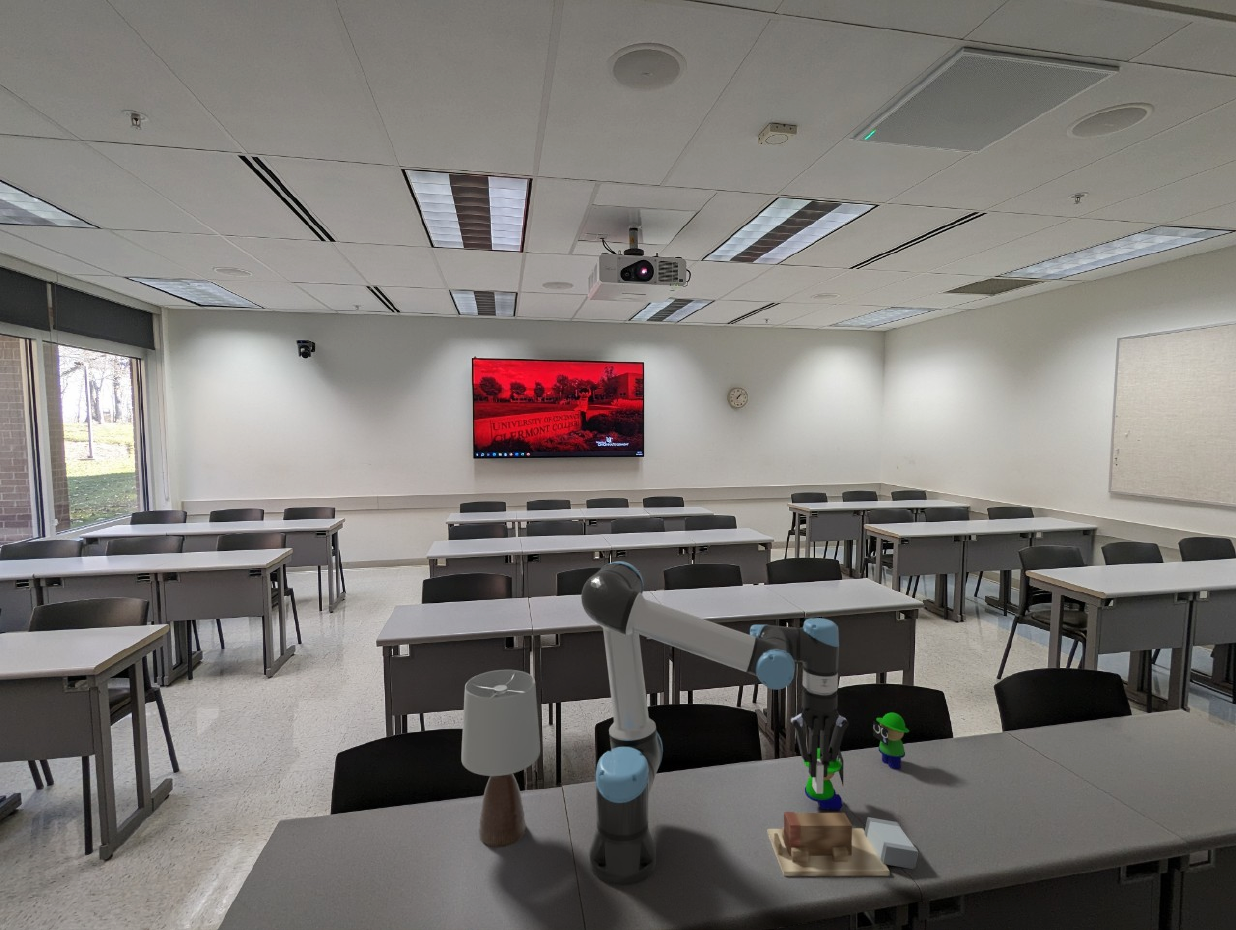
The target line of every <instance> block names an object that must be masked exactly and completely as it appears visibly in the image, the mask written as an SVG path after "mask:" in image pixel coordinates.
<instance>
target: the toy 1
mask: <svg viewBox="0 0 1236 930" xmlns="http://www.w3.org/2000/svg"><path fill="white" fill-rule="evenodd" d="M817 759H820V747H817ZM802 760H803V761H802V762H803V763H804V765H805V766H806V767H807V768H808V769H809V762H805V761H804V759H802ZM829 764H830V765H829V766H828V772H827V777H823V794H816V792H815V790H814V788H813V787H812V784H813V777H811V776H810V775H809V777H808V779H807V781H806V784H805V787H804V794H805V796H806V797H807V798H809V799H810V800H812V801H814V802H817V803H818V805H819V807H820V809H822V810H831V811H832V810H833V811H841V810H842V808H843V800H842V797H841V795H840V794H839V793H836V789H835V788H834V786H833V783H832V781H831V779H832V778H833V777H834V775H835V773H838V774H839V777H840V780H841V785H842V786H844V758H843V755H842V752H841V749H839V753H838V756H837V760H836V761H835V762H829Z"/></svg>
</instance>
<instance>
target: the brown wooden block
mask: <svg viewBox="0 0 1236 930" xmlns="http://www.w3.org/2000/svg"><path fill="white" fill-rule="evenodd" d="M783 826H784V844H785V846H786V849H787V851H788V853H789V856H791V848H807V849H808V851H809V856H832V847H846V848H847V850H848V856H852V828H853V825H852V823H851V821H850V820H849V818H848V817H847V814H846V813H845V812H795V811H783Z"/></svg>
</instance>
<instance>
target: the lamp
mask: <svg viewBox="0 0 1236 930" xmlns="http://www.w3.org/2000/svg"><path fill="white" fill-rule="evenodd" d="M463 701H464V702H463V717H462V720H463V721H462V736H461V737H462V738H461V739H462V740H461V755H460V756H461V759H460V760H461V763H462V766H463V767H464V768H465V769H467V771H468V772H471V773H473V774H477V775H480V776H487V777H489V778H488V781H487V783H486V785H485V788H484V793H483V798H482V803H481V810H480V816H479V817H480V818H479V826H478V827H479V828H478V837H479V839H480V842H482V843H483V844H484V845H485V846H490V847H493V848H495V847H496V848H501V847H507V846H511V845H513V844H515V843H517V842H518V841H519V840H520V841H521V839H522V838H523V836H524V835H525V832H526V819H525V810H524V806H523V800H522V794H521V790H520V787H519V784H518V782H517V779H516V777H515V775H514V774H516V773H519V772H520V771H523V770H525V769H527V768H529V767H530V766H532V765H534V763H535V762H536V761H538V759H539V757H540V755H541V742H540V741H541V740H540V728H539V716H538V702H537V701H538V700H537V690H536V681H535V678H534V677H533V675H531V674H530V673H528V672H526V671H522V670H515V669H498V670H491V671H486V672H483V673H482V672H481V673H480V674H478V675H475V676H474V677H470V679H469V680H468V681H467V682H466V683H465V685H464V697H463Z"/></svg>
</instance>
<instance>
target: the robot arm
mask: <svg viewBox="0 0 1236 930" xmlns="http://www.w3.org/2000/svg"><path fill="white" fill-rule="evenodd" d="M643 592H644V579H643V576H642V574H641V573H640V571H639V570H638V569H637V567H635V566H634V565H633V564H631V563H629V562H626V561H623V560H622V561H621V560H620V561H613V562H610V563H607V564H605V565H603V566H602V567H601V568H600V569H599V570H598V571H597V572H596V573H594V574H593V575H591V576H590V577H589V578H588V579H587V580H586V582H585V583H584V585H583V588H582V590H581V596H580V597H581V600H580V601H581V605H582V608H583V610H584V612H585V613H586V615H587V616H588V617H589V619H591V620H592V621H594V622H596V624H597V625H598V626H600V627H601V628H602V630H603V631H602V632H603V637H604V638H603V640H604V647H605V655H606V657H605V658H606V663H607V664H606V665H607V673H608V680H609V681H608V682H609V689H610V698H611V704H612V705H611V706H612V715H613V723H612V724H611V725H610V727H609V729H608V732H609V733H608V735H609V741H610V742H609V743H610V750H607V751H606V752H604V753H603V754H602V755H601V756H600V757H599V760H598V762H597V765H596V772H595V786H596V787H595V788H596V789H595V790H596V791H595V792H596V793H595V794H596V828H595V831H594V833H593V834H594V835H593V838H592V840H591V843H590V847H589V850H588V851H589V852H588V863H589V864H588V865H589V867H590V869H591V872H592V873H593V874H594V876H595V877H596V878H598V879H599V880H600V881H603V882H605V883H607V884H610V885H615V886H631V885H636V884H639V883H641V882H643V881H644V880H646V879H647V878H649V877H650V876H651V875H652V874H653V873H654V870H655V869H656V865H657V850H656V846H655V843H654V841H653V837H652V833H651V831H650V828H649V798H650V794H651V793H650V792H651V790H652V787H653V784H654V781H655V779H656V775H657V772H658V769H659V768H660V766H661V763H662V759H663V752H664V749H663V747H664V746H663V741H662V738H661V737H660V734H659V733H658V731H657V726H656V722H655V721H654V720H653V719H651V718H650V717H649V711H648V710H649V709H648V701H647V691H646V683H645V677H644V667H643V665H644V664H643V659H642V658H643V657H642V649H641V640H640V635H641V636H643V637H646V638H648V639H652V640H655V641H657V642H660V643H663V644H665V645H669V646H672V647H674V648H677V649H679V650H682V651H686V652H689V653H691V654H694V655H696V656H700V657H702V658H705V659H707V660H710V661H714V662H717V663H718V664H723V665H725V666H728V667H730V668H734V669H737V670H739V671H742V672H745V673H747V674H750V675H753V676H755V677H757V678H758V680H759V682H761V684H762V685H763V686H765V687H766V688H768V689H770V690H782V689H785V688H787V687H788V686H790V684H791V683H792V682H793V679H794V675H795V670H796V669H795V667H796V663H802V686H803V687H802V692H801V693H802V694H801V695H802V697H801V698H802V700H801V702H802V703H801V705H802V706H801V709H800V710H799V714H798V715H796V716H793V715H792V716H790V717H789V721H790V723H792V725H793V728H794V730H795V737H796V739H797V744H798V749H799V753H800V757H802V760H804V761H805V762H809V768H808V774H809V777H810V776H811V777H813V784H812V787H813V788H814V790H815V792H816V794H823V777H827V772H828V766H829V765H830V764H829V762H835V761H836V760H837V759H838V753H839V749H840V748H841V745H842V741H843V737H844V734H845V731H846V730H847V728H848V727H849V725H850V723H849V721H848V720H847V719H846V716H844V715H840V713H839V711H838V692H837V691H838V687H839V686H838V685H839V657H840V655H839V653H840V651H839V650H840V642H839V641H840V640H839V639H840V638H839V637H840V636H839V635H840V634H839V633H840V632H839V626H838V625H837V624H836V623H835V622H834V621H832V620H831V619H827V618H823V617H822V618H821V617H820V618H819V617H815V618H813V617H812V618H811V617H810V618H807V619H805V621H804V622H803V626H802V627H793V626H791V627H790V626H783V625H782V626H781V625H773V624H772V625H770V624H767V623H766V624H765V623H764V624H753V625H752V624H751V626H750V628H749V634H747V633H745V632H742V631H740V630H736V629H734V628H732V627H731V628H730V627H727V626H724V625H722V624H720V623H715V622H712V621H710V620H708V619H705V618H700V617H698V616H695V615H693V614H689V613H687V612H684V611H681V610H677V609H675V608H673V607H669V606H666V605H664V604H660V603H658V602H654V601H651V600H649V599H646V598H644V596H643ZM803 721H804V722H805V723H806V726H808V747H807V744H806V738H805V735H804V731H803V728H802V727H803V724H804V723H803ZM833 726H834V728H833V731H832V736H831V738H830V735H831V728H832V727H833ZM818 736H819V737H818ZM818 738H819V739H818ZM830 739H831V740H830ZM818 740H819V741H818ZM818 742H819V747H818ZM817 748H820V759H817ZM840 750H841V749H840ZM804 761H803V762H804Z"/></svg>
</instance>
